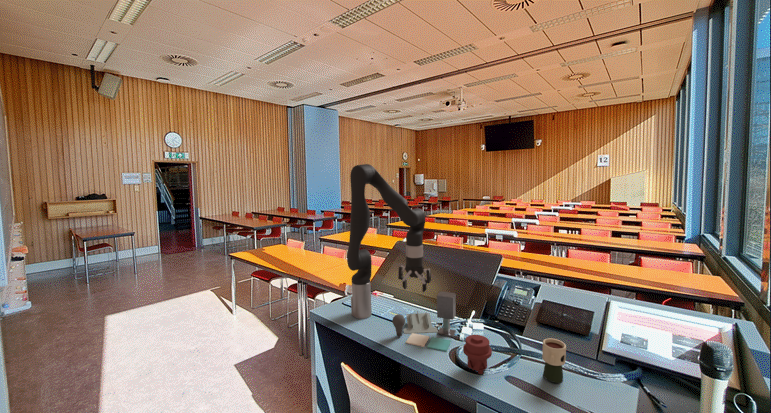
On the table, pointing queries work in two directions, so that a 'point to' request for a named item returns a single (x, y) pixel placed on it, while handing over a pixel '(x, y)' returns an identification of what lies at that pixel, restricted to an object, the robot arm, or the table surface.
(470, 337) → the mechanical component
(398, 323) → the light bulb
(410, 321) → the metal bracket
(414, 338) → the cream pad
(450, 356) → the table surface
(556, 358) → the character mug
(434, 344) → the teal pad
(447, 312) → the control housing
